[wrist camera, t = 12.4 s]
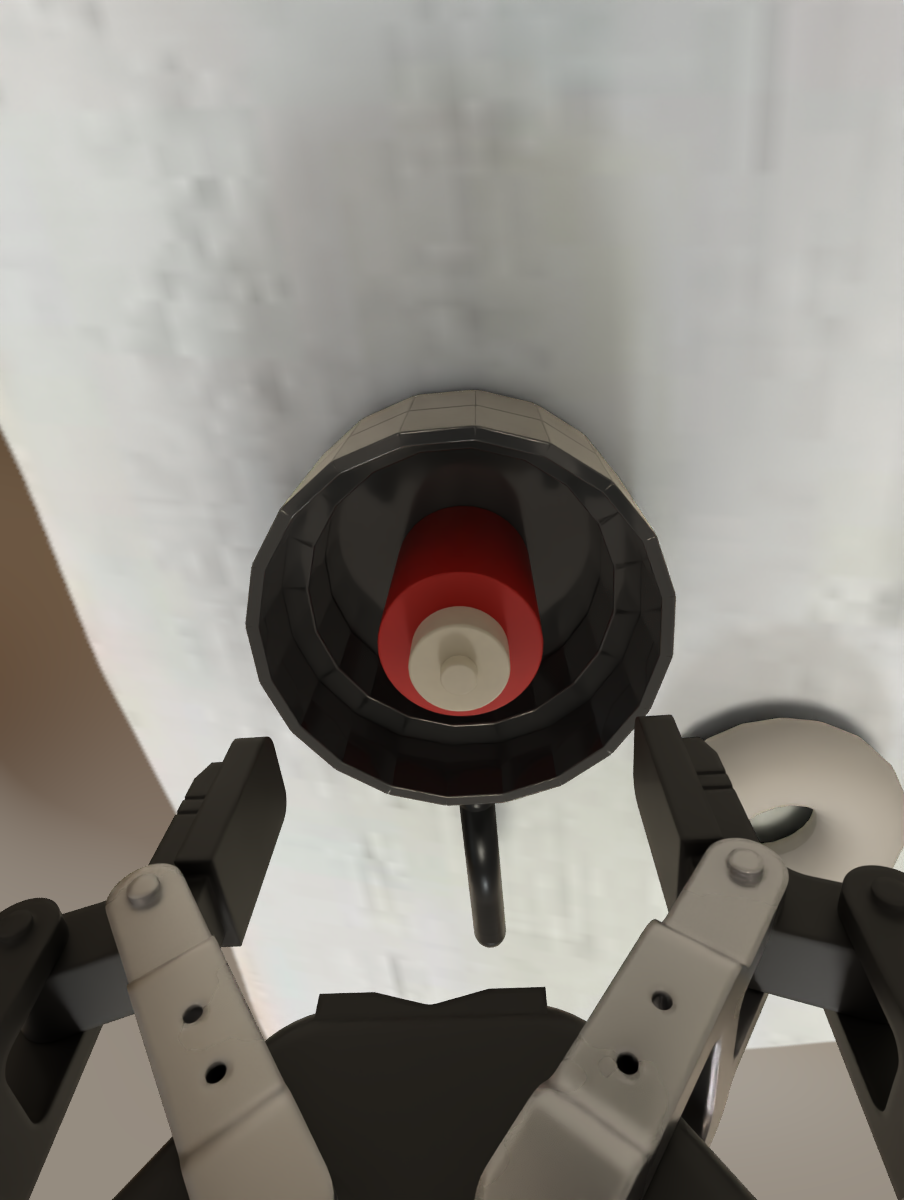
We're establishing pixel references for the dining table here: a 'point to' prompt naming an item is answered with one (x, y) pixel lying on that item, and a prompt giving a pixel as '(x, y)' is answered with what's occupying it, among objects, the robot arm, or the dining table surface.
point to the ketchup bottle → (461, 614)
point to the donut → (817, 792)
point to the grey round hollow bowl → (364, 573)
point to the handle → (484, 872)
